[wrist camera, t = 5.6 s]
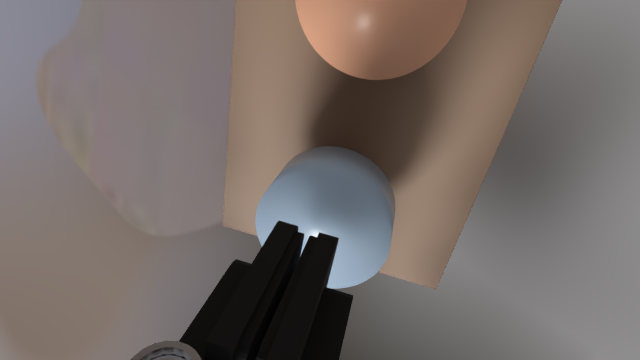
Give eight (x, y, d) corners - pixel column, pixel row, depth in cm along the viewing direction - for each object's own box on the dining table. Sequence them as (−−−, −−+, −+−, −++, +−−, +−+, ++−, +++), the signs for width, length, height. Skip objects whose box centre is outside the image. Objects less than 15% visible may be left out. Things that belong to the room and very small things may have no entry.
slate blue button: (411, 165, 13) (408, 195, 11) (378, 266, 15) (371, 303, 13) (283, 132, 13) (262, 155, 12) (269, 233, 16) (250, 266, 14)
